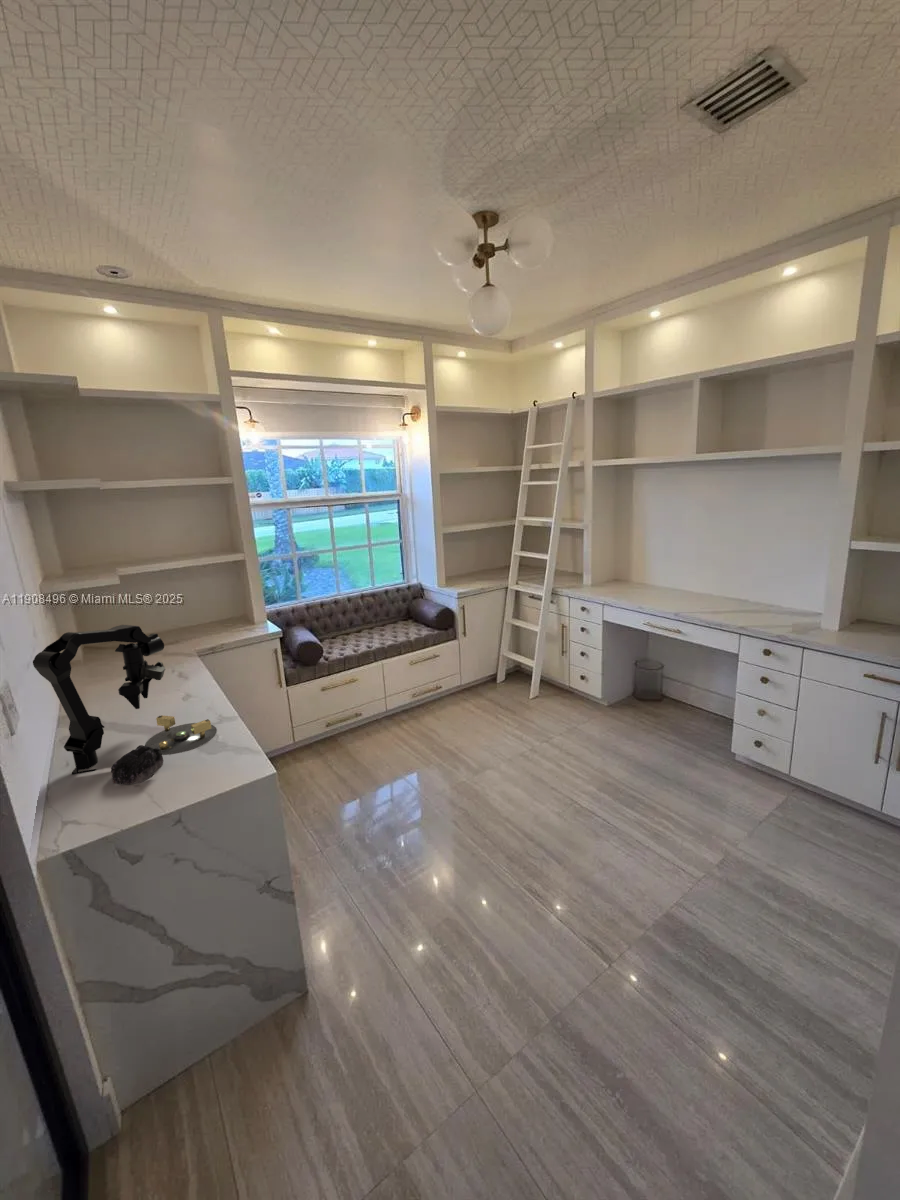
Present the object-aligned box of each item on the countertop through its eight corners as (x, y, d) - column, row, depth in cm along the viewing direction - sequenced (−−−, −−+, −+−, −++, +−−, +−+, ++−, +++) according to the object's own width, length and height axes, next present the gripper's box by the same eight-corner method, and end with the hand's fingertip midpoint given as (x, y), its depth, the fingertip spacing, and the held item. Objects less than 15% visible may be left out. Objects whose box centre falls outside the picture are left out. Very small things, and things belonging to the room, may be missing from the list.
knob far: (176, 729, 177) (174, 716, 176) (171, 732, 175) (169, 719, 174) (163, 728, 178) (161, 714, 177) (158, 731, 176) (156, 717, 175)
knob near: (195, 740, 169) (193, 726, 167) (192, 738, 170) (190, 724, 169) (212, 734, 173) (210, 720, 171) (209, 732, 174) (207, 718, 173)
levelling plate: (211, 751, 164) (210, 742, 163) (135, 763, 159) (134, 753, 158) (221, 721, 185) (220, 713, 184) (155, 731, 179) (154, 723, 179)
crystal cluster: (107, 777, 153) (98, 749, 149) (155, 755, 162) (148, 729, 159) (121, 797, 144) (112, 768, 141) (171, 773, 153) (163, 746, 150)
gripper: (152, 667, 164) (160, 711, 167) (167, 649, 181) (174, 689, 185) (113, 671, 161) (122, 716, 165) (132, 653, 179) (140, 694, 182)
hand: (141, 703), depth 174 cm, fingers open, 9 cm apart
